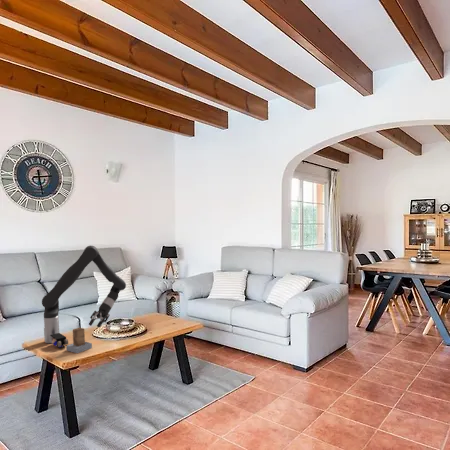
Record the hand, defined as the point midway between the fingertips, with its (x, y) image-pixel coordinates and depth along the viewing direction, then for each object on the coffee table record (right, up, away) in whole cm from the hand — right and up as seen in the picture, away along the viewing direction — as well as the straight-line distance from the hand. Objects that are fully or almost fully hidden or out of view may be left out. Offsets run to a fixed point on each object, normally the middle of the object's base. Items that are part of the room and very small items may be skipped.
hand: (93, 325), depth 256 cm
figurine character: (-22, -13, -3) cm, 25 cm away
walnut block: (-6, -9, -10) cm, 15 cm away
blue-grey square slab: (-6, -12, -10) cm, 17 cm away
